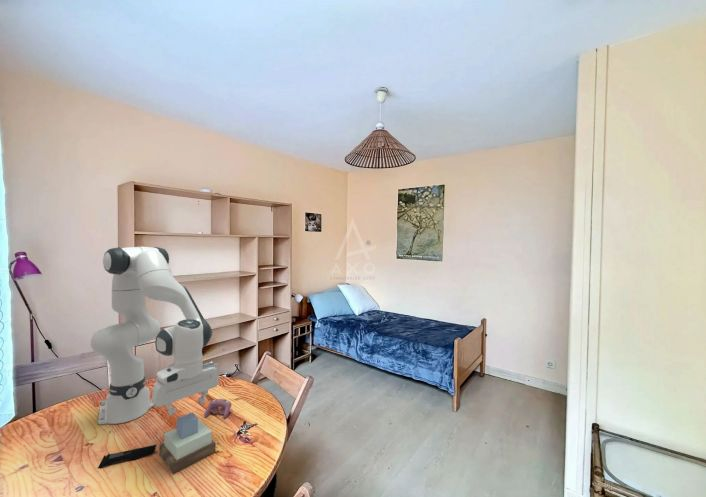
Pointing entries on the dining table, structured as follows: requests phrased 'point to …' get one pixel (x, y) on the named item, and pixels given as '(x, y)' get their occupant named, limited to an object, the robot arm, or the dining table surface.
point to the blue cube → (187, 425)
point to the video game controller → (218, 403)
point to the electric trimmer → (127, 455)
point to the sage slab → (187, 441)
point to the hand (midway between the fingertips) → (187, 408)
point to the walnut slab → (187, 460)
